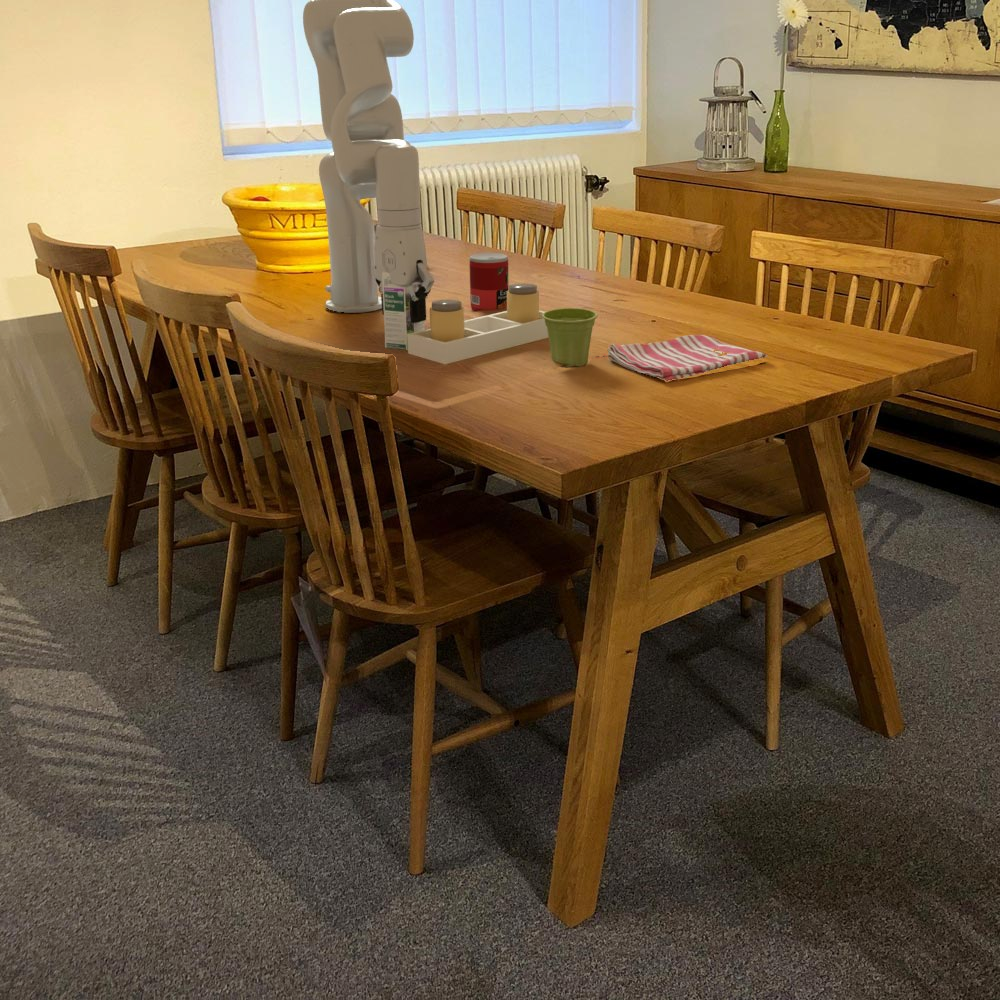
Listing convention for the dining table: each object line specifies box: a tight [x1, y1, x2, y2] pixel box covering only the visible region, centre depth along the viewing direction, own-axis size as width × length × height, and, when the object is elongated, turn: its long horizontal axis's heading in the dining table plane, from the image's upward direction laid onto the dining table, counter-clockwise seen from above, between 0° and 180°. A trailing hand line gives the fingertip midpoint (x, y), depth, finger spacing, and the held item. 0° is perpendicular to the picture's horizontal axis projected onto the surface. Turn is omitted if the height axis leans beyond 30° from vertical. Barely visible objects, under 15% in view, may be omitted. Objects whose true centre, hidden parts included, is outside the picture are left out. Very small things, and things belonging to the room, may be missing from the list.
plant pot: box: [542, 307, 598, 368], centre depth 198 cm, size 9×9×9 cm
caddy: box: [407, 310, 549, 365], centre depth 209 cm, size 10×29×4 cm, turn 133°
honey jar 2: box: [506, 282, 540, 323], centre depth 214 cm, size 6×6×9 cm
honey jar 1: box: [429, 299, 465, 342], centre depth 202 cm, size 6×6×9 cm
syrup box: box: [382, 272, 426, 351], centre depth 207 cm, size 6×6×14 cm
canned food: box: [469, 252, 509, 313], centre depth 236 cm, size 8×8×11 cm
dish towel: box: [607, 334, 769, 381], centre depth 199 cm, size 17×23×4 cm
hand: (404, 317), depth 208 cm, fingers closed on syrup box, 7 cm apart
